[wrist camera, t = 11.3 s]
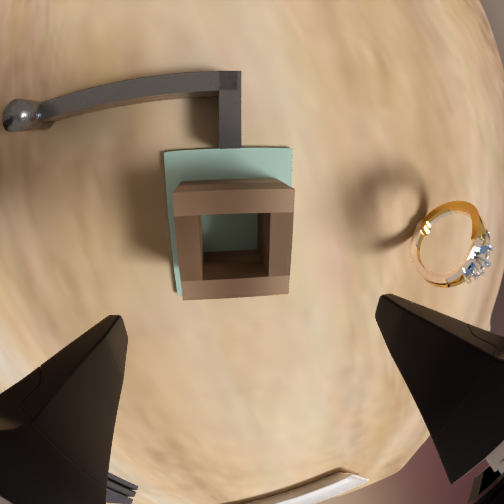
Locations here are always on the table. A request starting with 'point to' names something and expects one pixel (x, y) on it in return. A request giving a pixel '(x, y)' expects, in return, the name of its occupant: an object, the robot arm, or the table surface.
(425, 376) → the robot arm
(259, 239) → the brown square cubby
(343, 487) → the tray
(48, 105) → the hook
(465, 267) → the ring
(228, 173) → the pad
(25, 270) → the table surface
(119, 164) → the table surface
